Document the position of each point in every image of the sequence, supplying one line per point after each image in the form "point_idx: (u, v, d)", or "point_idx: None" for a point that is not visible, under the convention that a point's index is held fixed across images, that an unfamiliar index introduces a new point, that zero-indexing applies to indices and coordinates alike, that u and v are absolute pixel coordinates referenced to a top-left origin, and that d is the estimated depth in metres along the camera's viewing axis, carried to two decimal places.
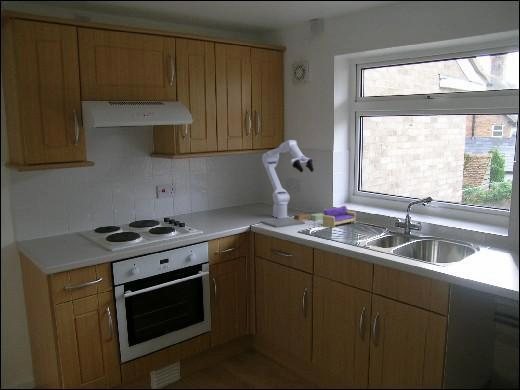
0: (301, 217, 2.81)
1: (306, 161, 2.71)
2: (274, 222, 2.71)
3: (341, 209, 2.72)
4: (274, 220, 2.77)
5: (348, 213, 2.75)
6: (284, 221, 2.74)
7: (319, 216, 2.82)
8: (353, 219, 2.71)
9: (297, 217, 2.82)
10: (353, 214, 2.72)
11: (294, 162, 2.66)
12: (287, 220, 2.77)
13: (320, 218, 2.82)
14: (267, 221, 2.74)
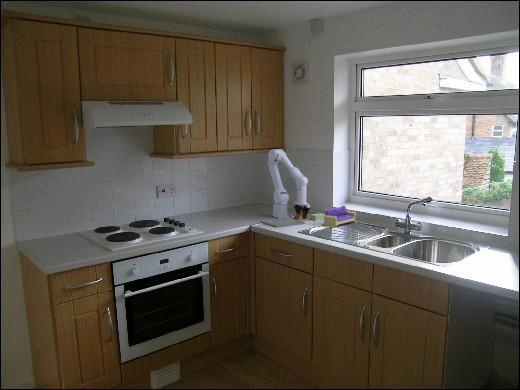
0: (301, 217, 2.81)
1: (299, 204, 2.86)
2: (274, 222, 2.71)
3: (341, 209, 2.73)
4: (274, 220, 2.77)
5: (348, 213, 2.75)
6: (284, 221, 2.74)
7: (319, 216, 2.82)
8: (353, 219, 2.72)
9: (297, 217, 2.81)
10: (353, 214, 2.73)
11: (307, 208, 2.79)
12: (287, 220, 2.77)
13: (320, 218, 2.82)
14: (267, 221, 2.74)
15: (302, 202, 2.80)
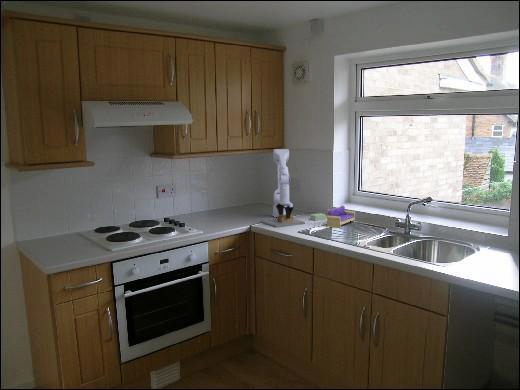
0: (284, 218, 2.71)
1: (281, 204, 2.76)
2: (274, 222, 2.71)
3: (341, 209, 2.73)
4: (274, 220, 2.77)
5: (347, 213, 2.76)
6: None
7: (319, 216, 2.82)
8: (353, 218, 2.73)
9: (280, 218, 2.72)
10: (353, 213, 2.74)
11: (291, 207, 2.68)
12: None
13: (320, 218, 2.82)
14: (267, 221, 2.74)
15: (285, 201, 2.70)
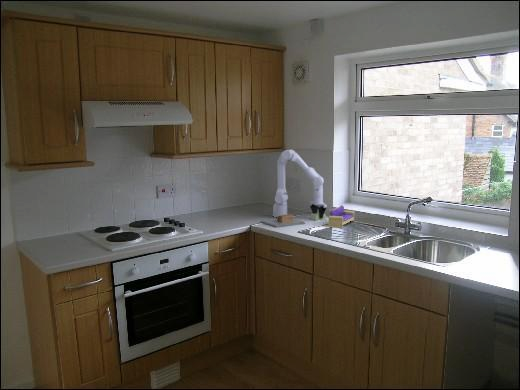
0: (284, 218, 2.71)
1: (315, 204, 2.87)
2: (274, 222, 2.71)
3: (341, 209, 2.73)
4: (274, 220, 2.77)
5: (346, 212, 2.77)
6: None
7: None
8: (353, 218, 2.74)
9: (280, 218, 2.72)
10: (352, 213, 2.75)
11: (324, 207, 2.80)
12: None
13: (320, 218, 2.82)
14: (267, 221, 2.74)
15: (319, 202, 2.81)
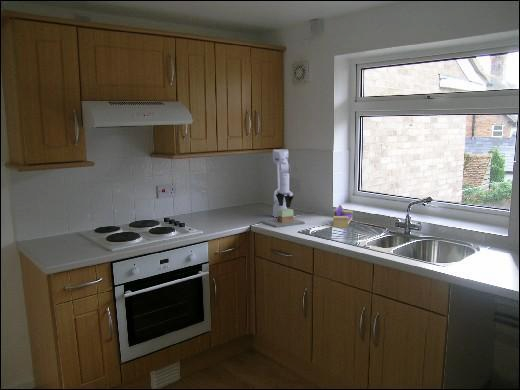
0: (284, 218, 2.71)
1: None
2: (274, 222, 2.71)
3: (340, 209, 2.74)
4: (274, 220, 2.77)
5: (344, 212, 2.78)
6: None
7: (286, 211, 2.71)
8: None
9: (280, 218, 2.72)
10: (351, 213, 2.77)
11: (291, 196, 2.67)
12: None
13: (287, 213, 2.72)
14: (267, 221, 2.74)
15: (285, 190, 2.69)
